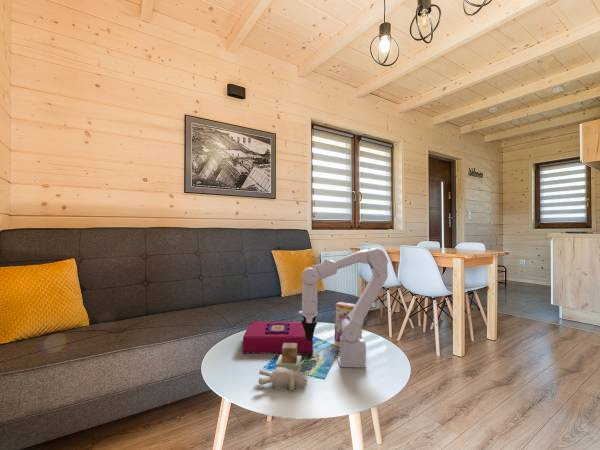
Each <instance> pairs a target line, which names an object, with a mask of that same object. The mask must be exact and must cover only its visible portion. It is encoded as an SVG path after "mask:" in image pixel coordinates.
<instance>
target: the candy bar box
mask: <svg viewBox="0 0 600 450" xmlns="http://www.w3.org/2000/svg"><path fill="white" fill-rule="evenodd" d="M355 305H356V303H355V304H354V303H349V302H342V301H339V302H336V303H335V304H334V340H335V341H338V342H340V336H341V335H342V330H341V328H340V323H341V321H342V320H343V319H344V318H346V317H347V316H348V314H349V313H350V312H351V311H352V310H353V308H354V307H355ZM362 328H363V327H362ZM362 328H361V330H360V336H359V338H360V339H363V338H362V337H363V336H362V335H363V329H362Z"/></svg>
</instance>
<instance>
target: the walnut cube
mask: <svg viewBox="0 0 600 450" xmlns="http://www.w3.org/2000/svg"><path fill="white" fill-rule="evenodd" d="M281 355H282V362H283V363H296V362H297V356H298V353H297V343H283V347H282V353H281Z"/></svg>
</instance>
